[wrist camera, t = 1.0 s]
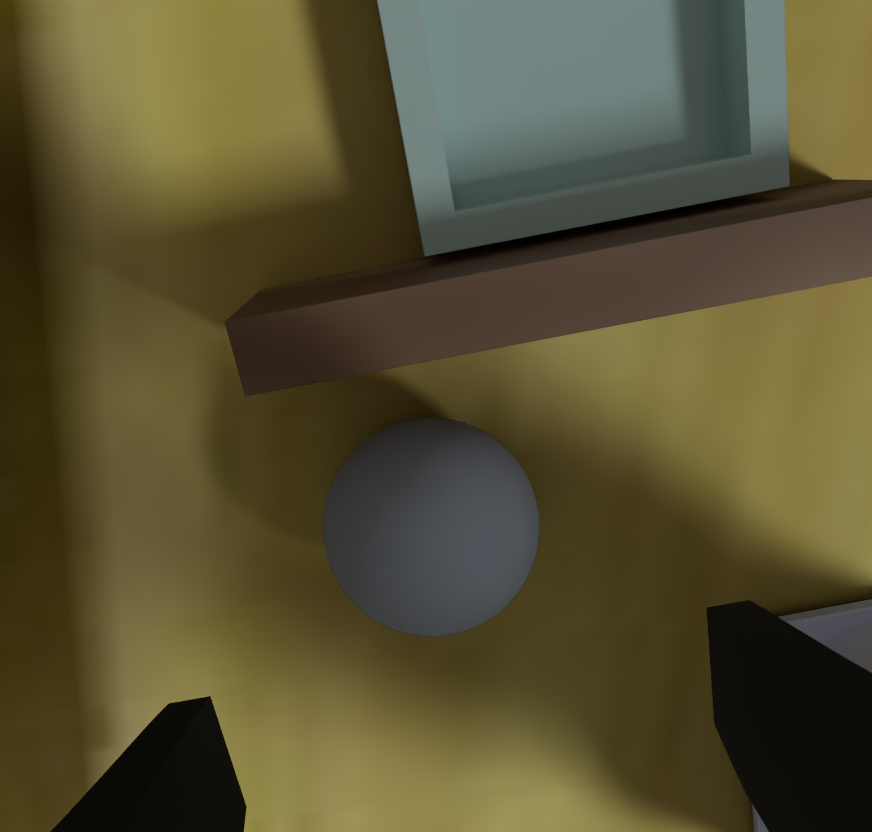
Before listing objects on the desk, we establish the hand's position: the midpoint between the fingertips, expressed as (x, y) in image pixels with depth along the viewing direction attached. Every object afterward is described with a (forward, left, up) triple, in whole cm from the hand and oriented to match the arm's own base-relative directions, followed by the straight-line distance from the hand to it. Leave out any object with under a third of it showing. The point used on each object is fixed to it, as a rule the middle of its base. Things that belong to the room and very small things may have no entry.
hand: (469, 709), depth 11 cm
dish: (+10, -5, -9) cm, 14 cm away
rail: (+5, -4, -9) cm, 11 cm away
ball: (0, 0, -9) cm, 9 cm away
